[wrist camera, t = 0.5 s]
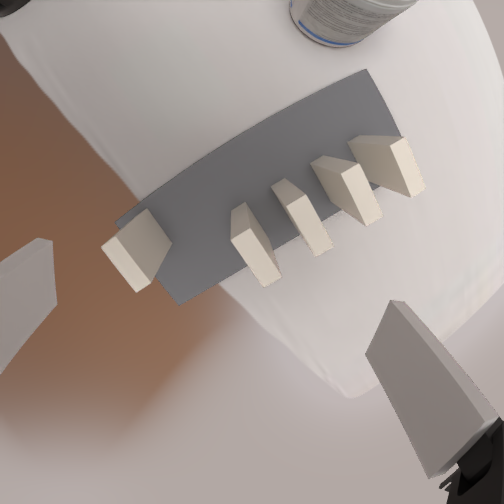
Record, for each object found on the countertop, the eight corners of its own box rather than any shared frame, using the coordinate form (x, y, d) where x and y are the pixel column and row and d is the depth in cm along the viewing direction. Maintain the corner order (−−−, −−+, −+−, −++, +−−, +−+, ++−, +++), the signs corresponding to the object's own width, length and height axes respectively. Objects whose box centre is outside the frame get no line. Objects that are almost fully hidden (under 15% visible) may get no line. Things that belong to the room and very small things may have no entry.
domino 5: (346, 142, 31) (389, 145, 21) (359, 135, 30) (405, 136, 21) (366, 180, 32) (411, 198, 23) (378, 173, 32) (426, 188, 23)
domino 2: (231, 210, 33) (230, 239, 23) (245, 201, 32) (250, 227, 23) (255, 246, 34) (263, 287, 25) (268, 238, 34) (282, 277, 25)
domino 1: (135, 216, 32) (100, 247, 23) (147, 207, 32) (115, 235, 23) (160, 251, 34) (136, 292, 25) (172, 243, 34) (151, 282, 24)
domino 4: (309, 163, 31) (340, 173, 22) (323, 155, 31) (359, 163, 22) (330, 201, 33) (366, 226, 24) (343, 193, 33) (383, 215, 23)
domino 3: (270, 186, 32) (286, 206, 23) (284, 177, 32) (306, 194, 22) (293, 223, 34) (315, 257, 24) (306, 215, 33) (334, 246, 24)
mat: (115, 221, 33) (114, 222, 32) (364, 69, 28) (366, 68, 27) (179, 304, 37) (178, 305, 37) (412, 165, 32) (413, 165, 32)
